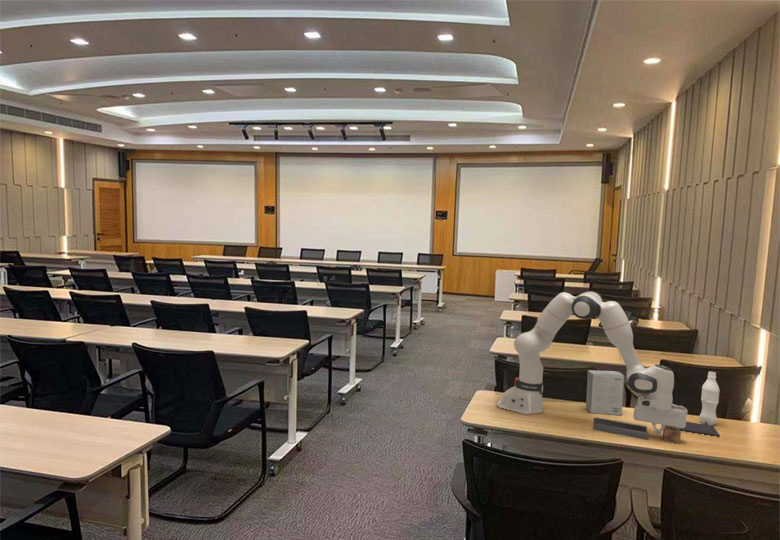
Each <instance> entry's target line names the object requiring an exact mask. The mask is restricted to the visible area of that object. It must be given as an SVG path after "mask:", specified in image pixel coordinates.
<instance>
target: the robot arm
mask: <svg viewBox="0 0 780 540" xmlns="http://www.w3.org/2000/svg"><path fill="white" fill-rule="evenodd" d="M603 299H604V298H603V297H602V295H601V293H599V292H597V291H595V290H588V291H584V292H582V293H579V294H577V295H576V296H574V295H572V294H571V293H568V292H565V291H563V292H560V293H558V294H557V295H556V296H555V297H554V298H552V300H550V302H549V303H548V304H547V305H546V307H544V309H543V310H542V311H541V313H540V314H539V316H538V317H537V318H536V319H537V321H536V322H535V323H536V324H535V325H534V327H533V328H532V329H531V330H529V331H527V332H525V331H524V332H522V333H520V334H519V335H518V336H516V337H515V339H514V341H513V342H514V343H513V346H514V349H515V351H516V352H517V354H518V359H519V360H518V361H519V376H518V377H516V378H515V379H514V386H512V387H510V388H508V389H507V390H505V391H504V393H503V394H502V396H501V398H500V399H499V400H498V401H497V403H496V407H497V406H498V407H497V408H498V409H502V408H503V409H502V410H506V409H507V410H506V411H510V410H511V411H510V412H514V411H515V412H514V413H519V414H521V415H532V414H534V415H535V414H541V413H544V412H545V410H544V405H543V393H544V382H543V379H544V378H543V375H544V374H543V373H544V366H543V364H542V362H541V356H540V354H541V353H542V352H545V351H546V350H547V349H548V348H549V347H550V346H551V345H552V342H553V341H554V338H555V337H556V334H557V333H558V331H560V329H561V328H562V327H563V325H564V324H565V323H566V322H567V321H568V319H569V318H570V317H571V316H572V315H574V316H575V317H576V318H578V319H581V320H597V319H598V320H599V322H600V324H601V326H602V329H603V331H604V334H605V335H606V337H607V339H608V340H609V342H610V343H611V344H612V345H613V346H614V347H616V349H618V351H619V353H620V355H621V358H622V360H623V363H624V366H625V369H626V370H625V377H626V381H627V384H628V387H629V389H630V390H631V391H632V392H635V393H636V394H649V395H642V396H638V398H637V402H636V404H635V405H634V409H633V414H632V415H633V417H632V418H633V420H635V421H639V422H643V423H644V422H645V423H650V424H651V425H652V427H653V429H654V434H655V435H662V436H663V429H664V428H665V425H667V426H673V427H679V428H685V427H686V422H687V418H686V417H687V416H688V412H689V410H688V409H687V407H685V406H683V405H678V404H674V403H673V399H674V398H673V391H674V385H675V375H674V371H673V370H672V369H671V368H669V367H667V366H666V365H663V364H658V363H657V364H656V363H655V364H653V365H652V366H650V367H645V366H644V365H643V363H641V361H640V359H639V356H638V354H637V351H636V349H635V347H634V332H633V329H632V325H631V323H630V321H629V319H628V316H627V315H626V313H625V311H624V309H623V308H622V306H621V305H620V304H619V302H616V301H614V300H608V301H606V302H605V301H604V300H603ZM657 425H660V426H661V427H660V428H656V426H657Z"/></svg>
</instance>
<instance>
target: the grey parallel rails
mask: <svg viewBox="0 0 780 540" xmlns="http://www.w3.org/2000/svg"><path fill="white" fill-rule="evenodd" d="M592 430H593V431H599V432H604V433H610V434H616V435H620V436H626V437H631V438H637V439H642V440H648V441H649V432H648V427H647V426H646V425H640V424H635V423H629V422H623V421H618V420H612V419H607V418H601V417H595V416H594V417H593V425H592Z"/></svg>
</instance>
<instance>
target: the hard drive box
mask: <svg viewBox="0 0 780 540" xmlns="http://www.w3.org/2000/svg"><path fill="white" fill-rule="evenodd" d="M624 384H625V375H624V374H623V373H621V371H611V370H593V369H592V370H590V369H589V370H587V384H586V401H585V409H586V410H587V411H588V412H589V413H590V414H599V415H612V416H622V415H623V401H624Z"/></svg>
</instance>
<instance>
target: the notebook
mask: <svg viewBox="0 0 780 540" xmlns="http://www.w3.org/2000/svg"><path fill="white" fill-rule="evenodd" d="M665 426H667V425H665ZM671 427H673V426H671ZM677 428H679V427H677ZM679 429H680V431H681V432H683V431H685V432H684V433H689V432H691V433H690V434H695V433H697V435H701V434H704V435H703V436H707V435H710V436H709V437H713V436H717V437H716V438H719V437H720V434H719V432H718V431H717V428H715V425H708V424H706V423H705V424H703V423H699V422H697V423H696V422H692V421H686V427H685V428H679Z"/></svg>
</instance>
